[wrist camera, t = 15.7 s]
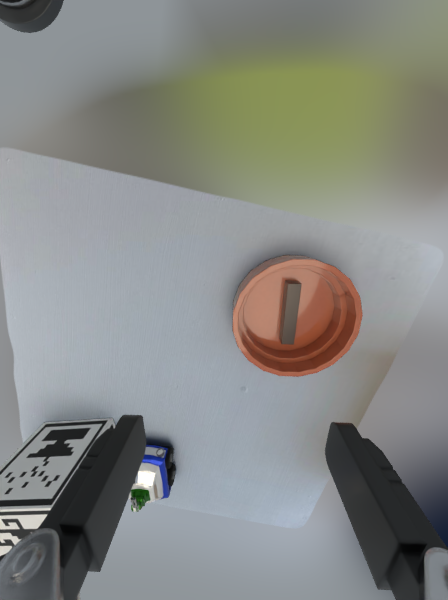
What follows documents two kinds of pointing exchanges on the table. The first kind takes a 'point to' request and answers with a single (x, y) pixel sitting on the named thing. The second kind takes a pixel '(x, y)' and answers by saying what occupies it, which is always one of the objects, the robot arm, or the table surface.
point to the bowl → (310, 321)
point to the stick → (289, 311)
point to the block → (42, 474)
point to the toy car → (153, 477)
